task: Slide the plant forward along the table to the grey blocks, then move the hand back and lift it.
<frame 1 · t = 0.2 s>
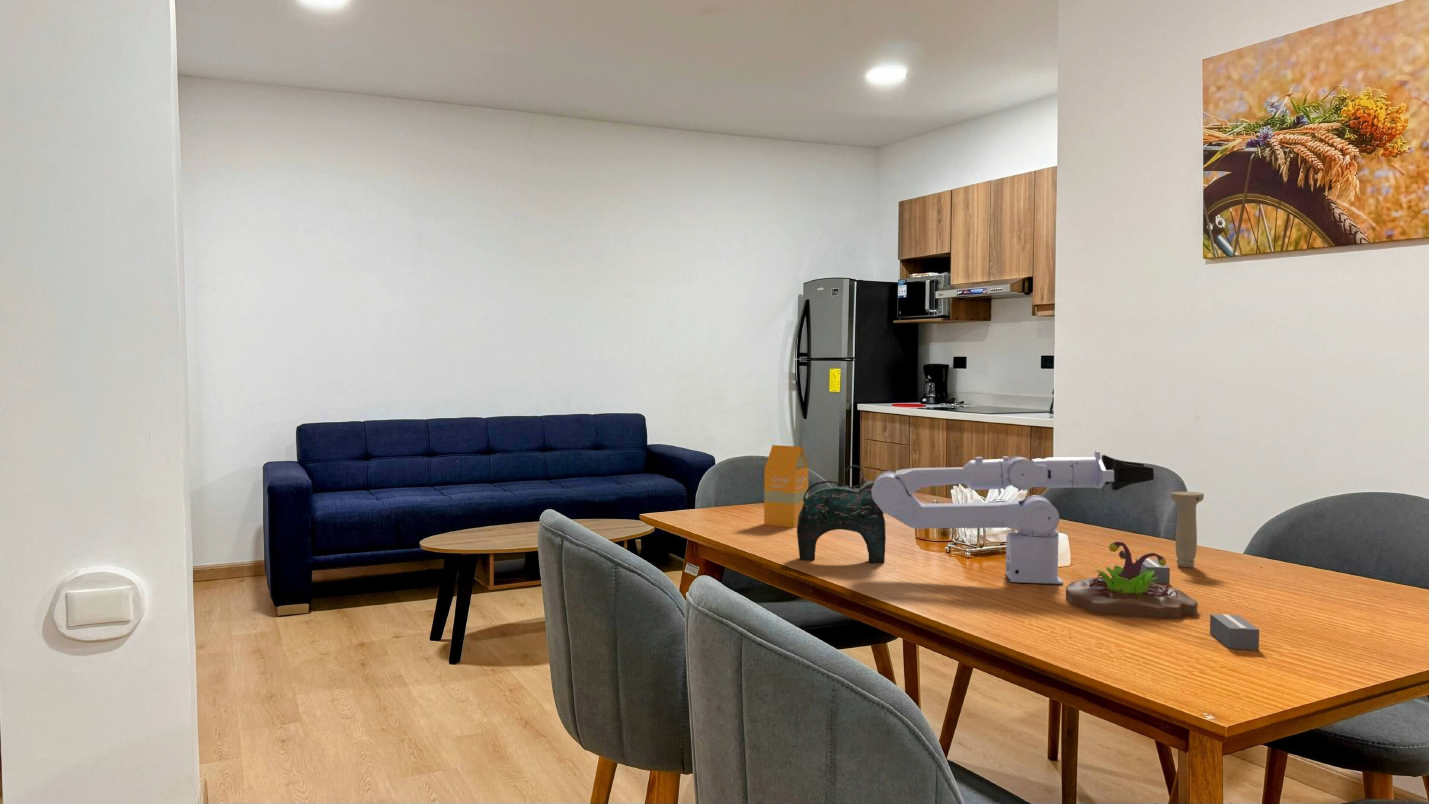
hand: (1148, 471, 177), 21 cm above the table, tool horizontal, fingers open, 7 cm apart
plant: (1126, 607, 164), on the table
ceramic cat: (844, 561, 199), on the table
handle: (1185, 567, 195), on the table
orange juice: (786, 524, 244), on the table
grey blocks: (1187, 605, 163), on the table
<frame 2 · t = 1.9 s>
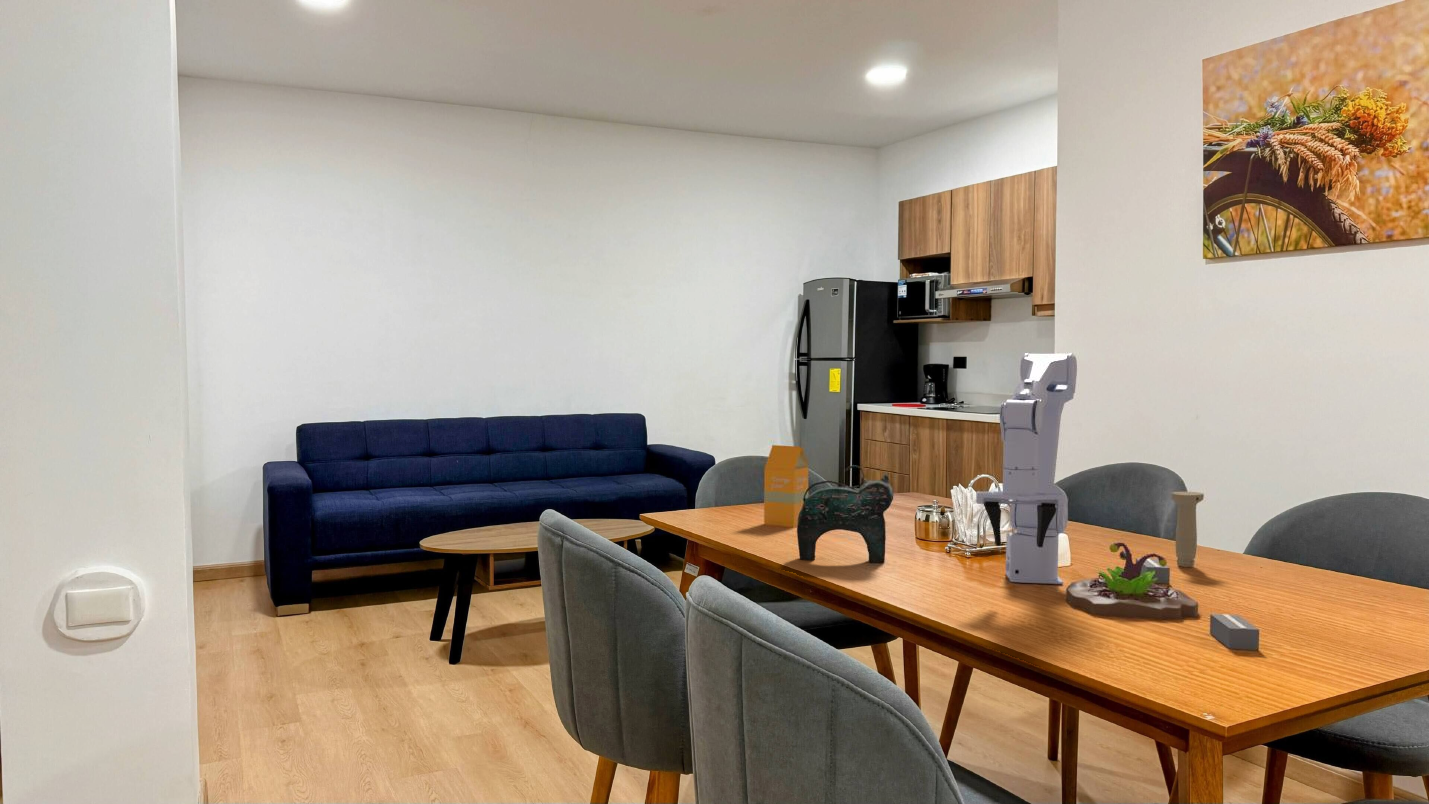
hand: (1018, 545, 167), 9 cm above the table, tool pointing down, fingers open, 6 cm apart
nothing on the table moved.
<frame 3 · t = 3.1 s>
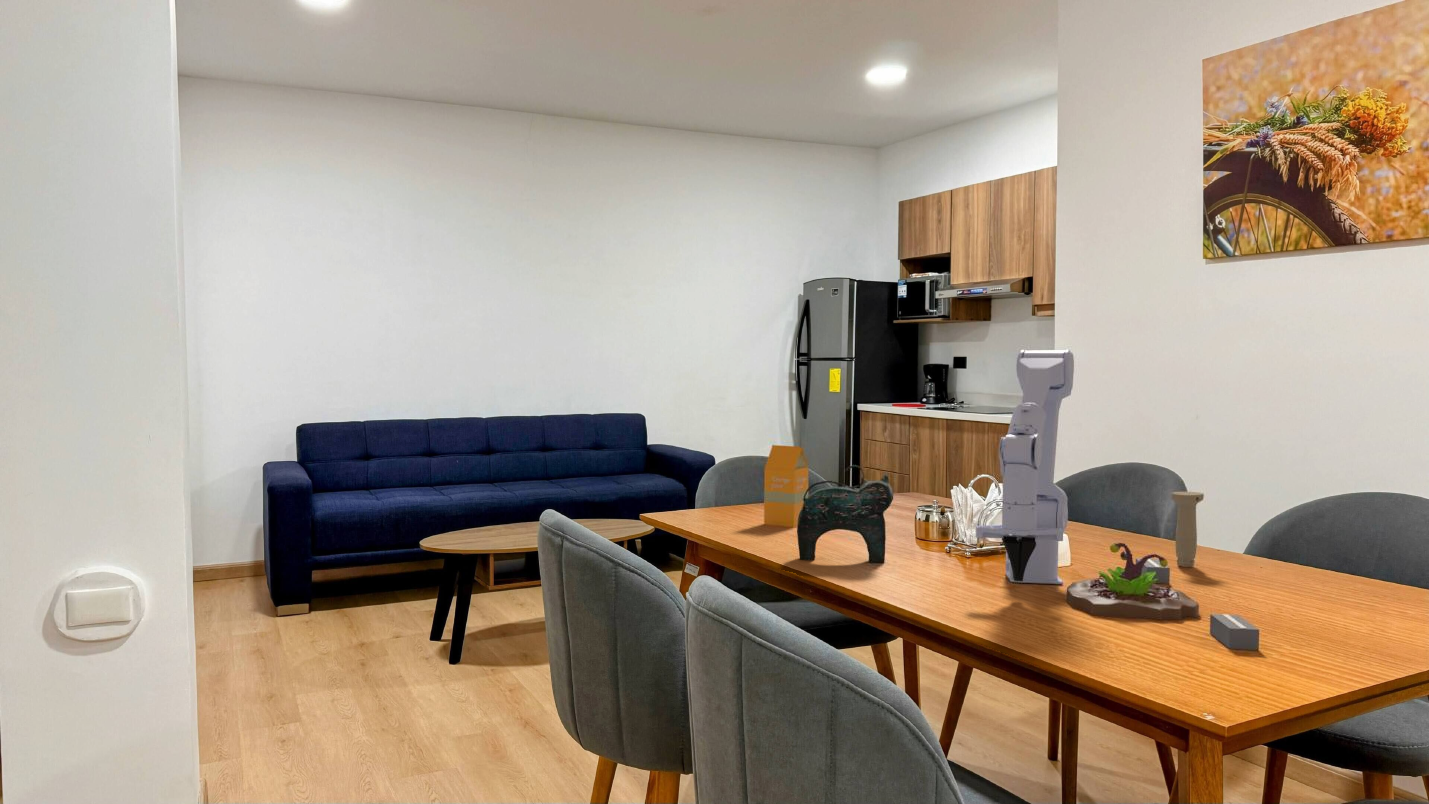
hand: (1017, 579, 167), 3 cm above the table, tool pointing down, fingers closed
nothing on the table moved.
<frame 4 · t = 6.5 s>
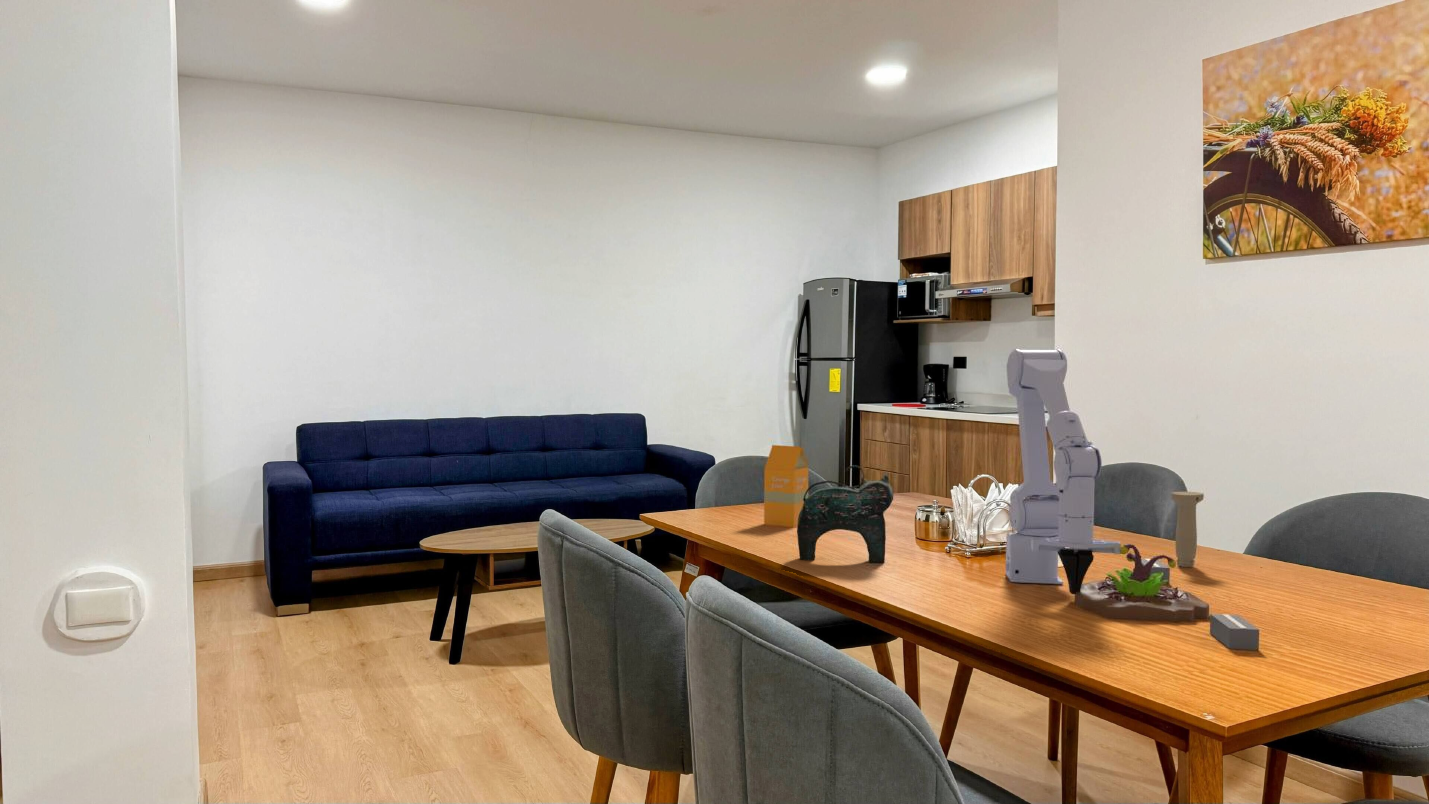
hand: (1074, 593, 166), 1 cm above the table, tool pointing down, fingers closed
plant: (1135, 610, 162), on the table, touching gripper
everything else where it was.
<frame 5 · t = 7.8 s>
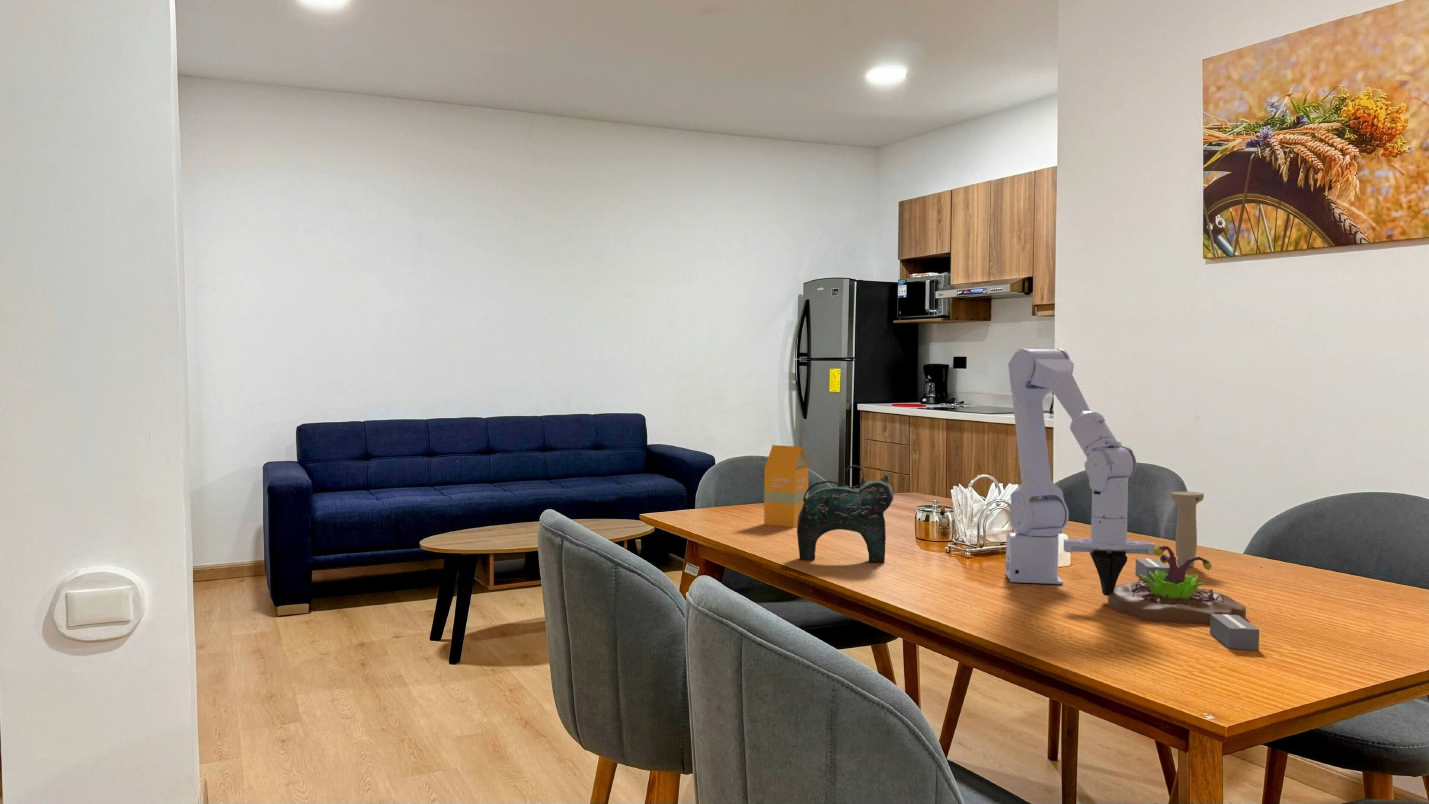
hand: (1107, 594, 165), 1 cm above the table, tool pointing down, fingers closed
plant: (1170, 612, 161), on the table, touching gripper
everything else where it was.
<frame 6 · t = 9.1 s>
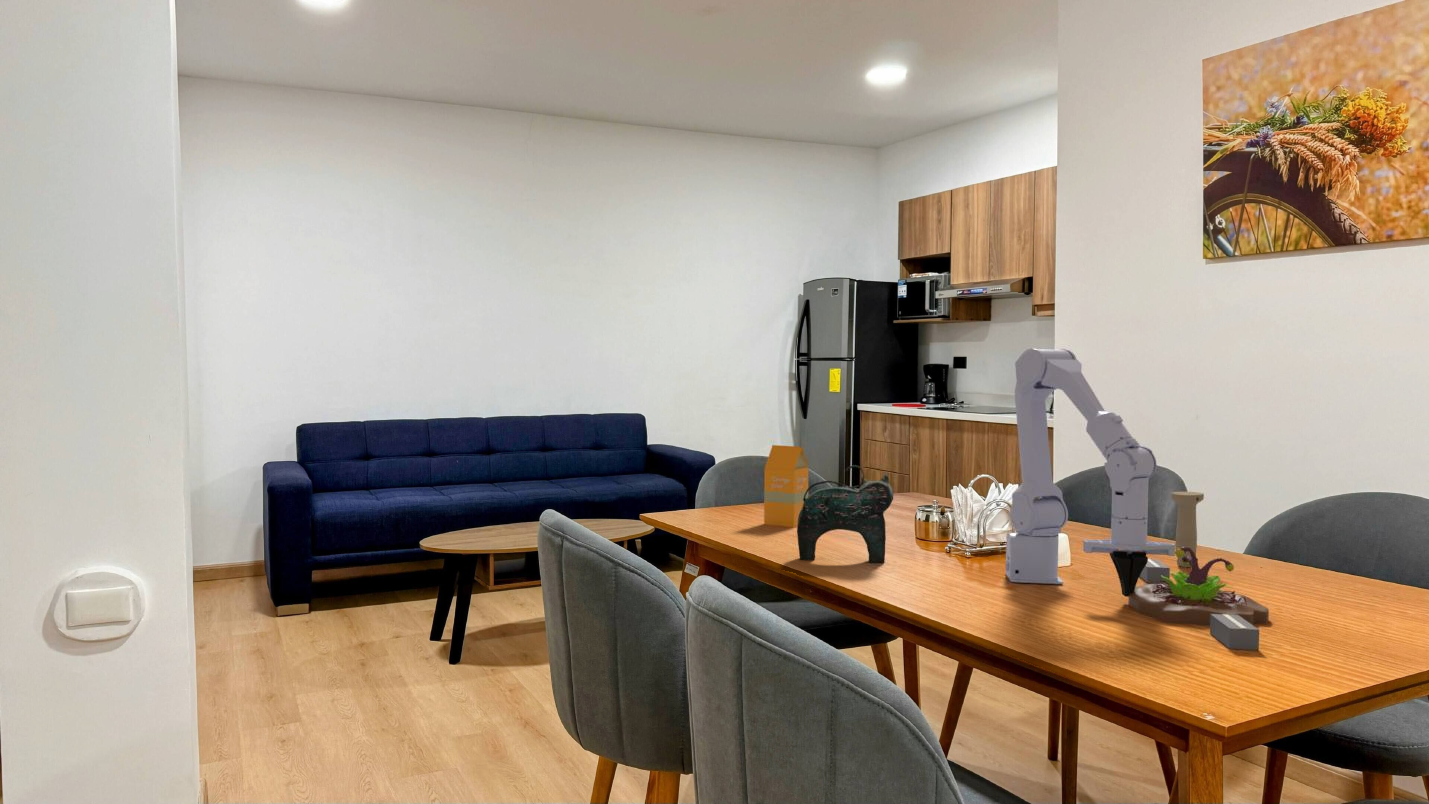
hand: (1127, 595, 164), 1 cm above the table, tool pointing down, fingers closed
plant: (1191, 613, 160), on the table, touching gripper
everything else where it was.
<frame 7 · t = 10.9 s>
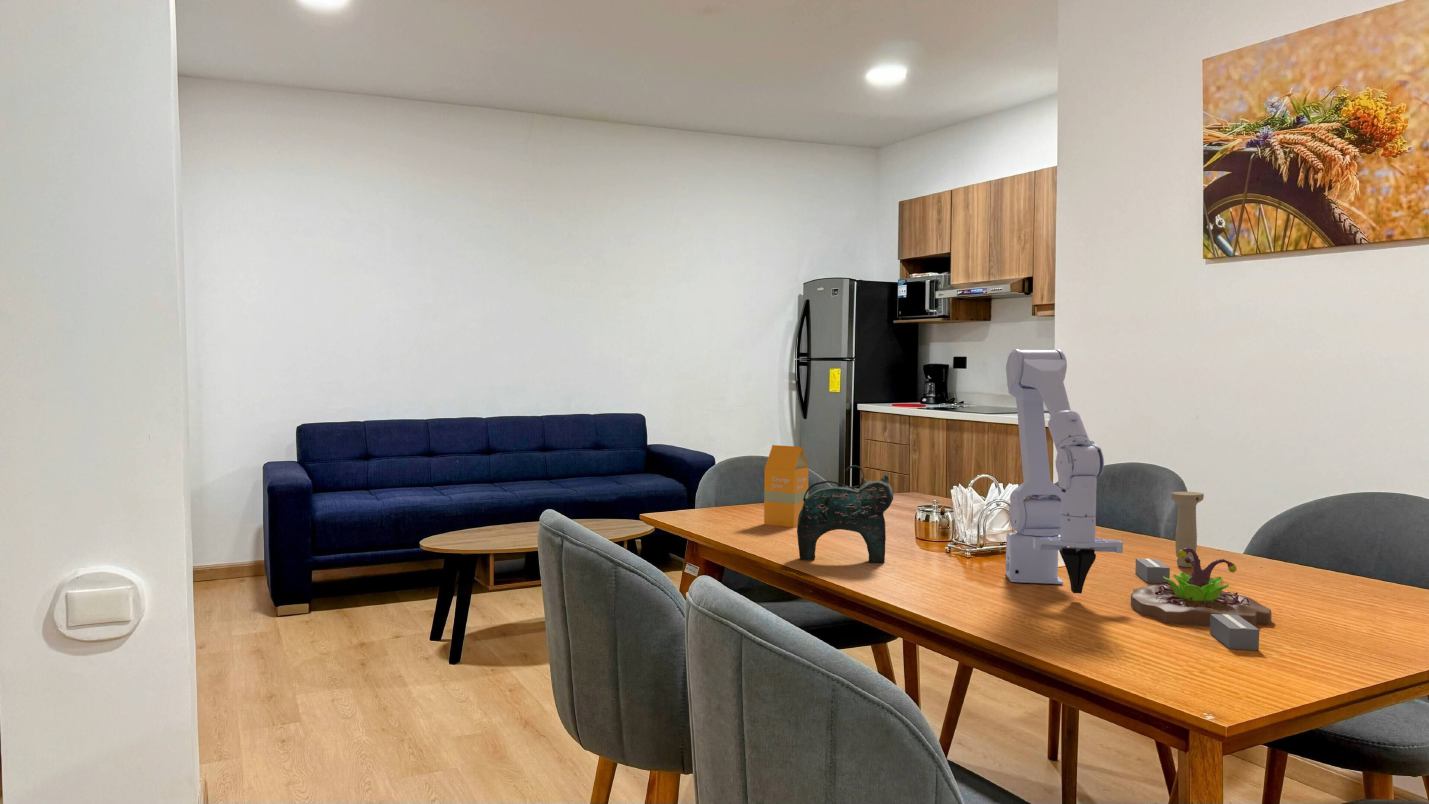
hand: (1076, 592, 166), 2 cm above the table, tool pointing down, fingers closed
plant: (1194, 615, 159), on the table
everything else where it was.
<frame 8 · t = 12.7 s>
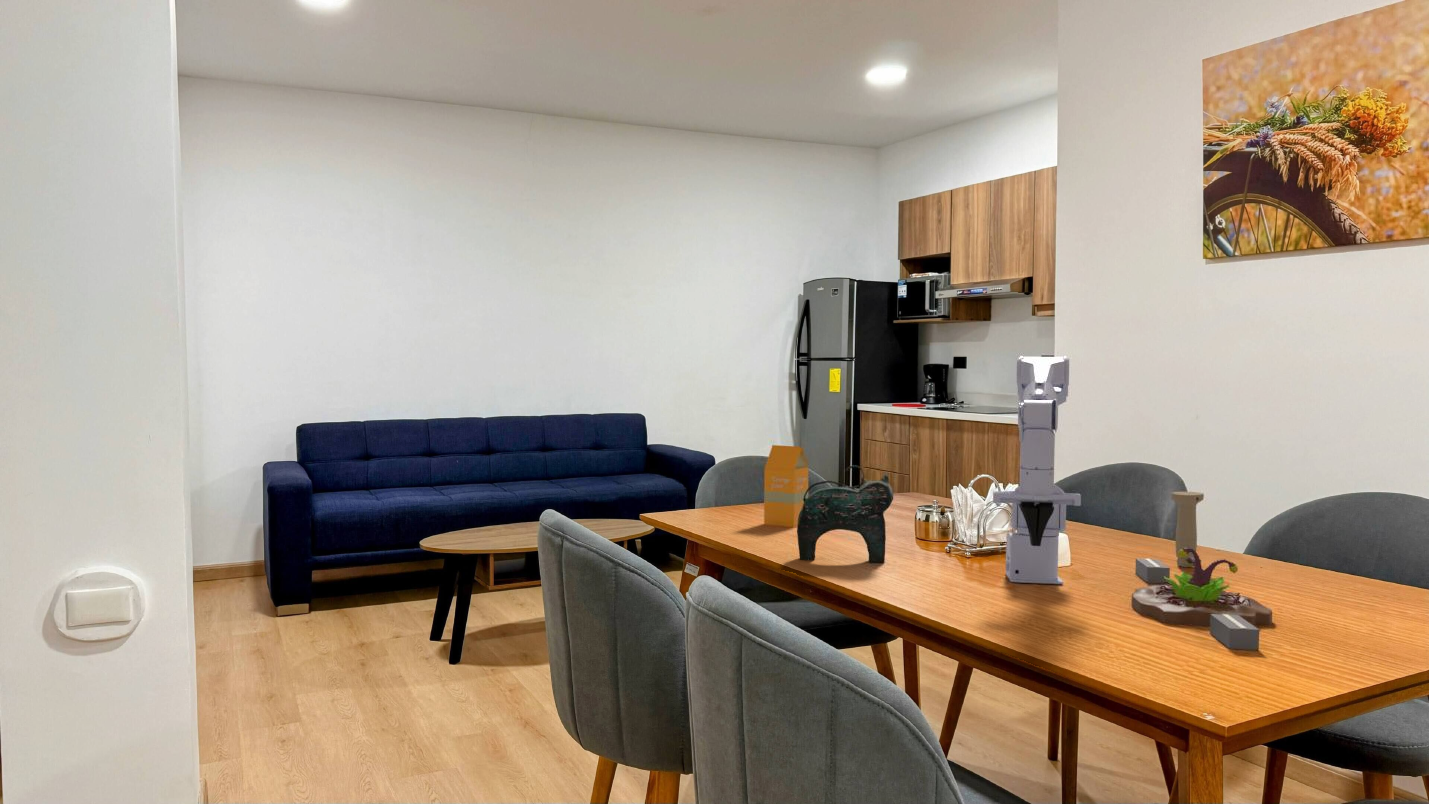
hand: (1035, 545, 168), 9 cm above the table, tool pointing down, fingers closed
nothing on the table moved.
at the end: plant inside the target area (3.8 cm from its centre), on the table; plant tilted 0°; plant moved 10.8 cm from its start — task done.
